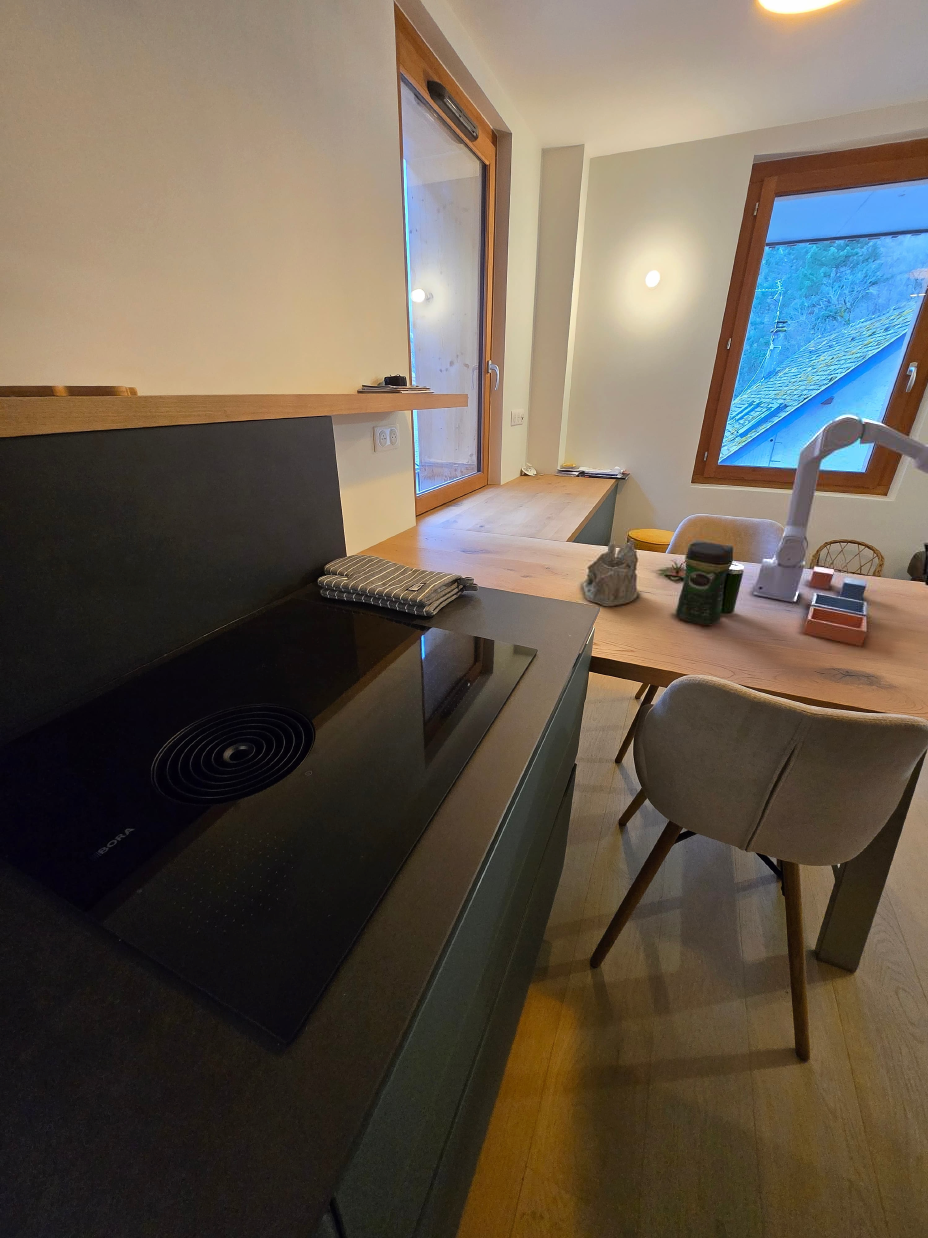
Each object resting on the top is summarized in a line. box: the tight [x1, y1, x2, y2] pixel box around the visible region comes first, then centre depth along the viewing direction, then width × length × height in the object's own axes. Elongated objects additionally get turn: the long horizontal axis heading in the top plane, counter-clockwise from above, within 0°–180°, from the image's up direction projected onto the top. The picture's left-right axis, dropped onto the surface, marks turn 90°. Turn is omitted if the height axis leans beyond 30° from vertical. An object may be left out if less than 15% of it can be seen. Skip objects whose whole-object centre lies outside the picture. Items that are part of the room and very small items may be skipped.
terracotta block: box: [808, 566, 835, 591], centre depth 134 cm, size 4×4×4 cm
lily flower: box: [655, 558, 686, 581], centre depth 143 cm, size 12×12×5 cm
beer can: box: [720, 562, 744, 617], centre depth 118 cm, size 5×5×12 cm
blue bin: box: [807, 592, 868, 617], centre depth 117 cm, size 10×9×4 cm
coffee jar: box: [675, 540, 734, 626], centre depth 114 cm, size 10×8×19 cm
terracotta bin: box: [803, 605, 868, 647], centre depth 109 cm, size 10×9×4 cm
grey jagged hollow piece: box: [582, 538, 639, 607], centre depth 130 cm, size 16×16×15 cm
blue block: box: [838, 577, 867, 601], centre depth 126 cm, size 4×4×4 cm
